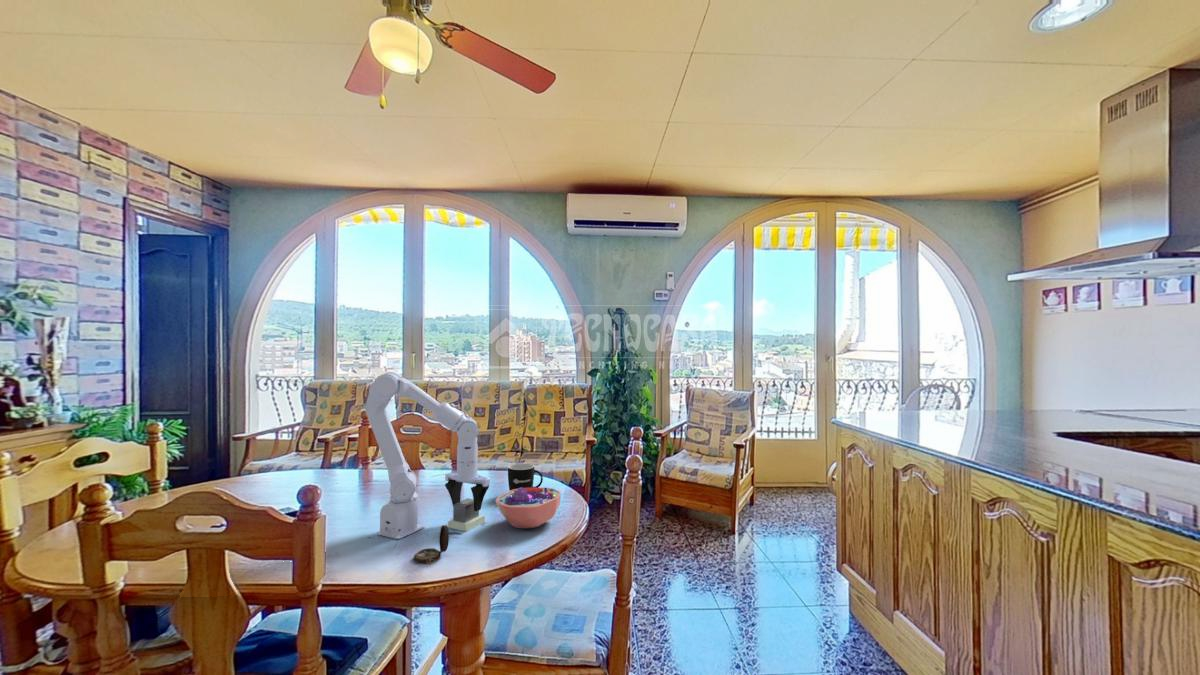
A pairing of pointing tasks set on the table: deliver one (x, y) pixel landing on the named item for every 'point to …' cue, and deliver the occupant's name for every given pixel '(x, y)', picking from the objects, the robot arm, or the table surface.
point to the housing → (464, 511)
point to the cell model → (529, 506)
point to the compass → (431, 553)
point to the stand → (466, 525)
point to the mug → (522, 476)
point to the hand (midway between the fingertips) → (466, 508)
